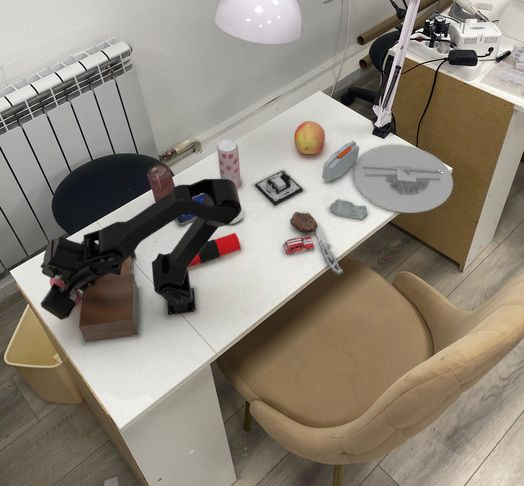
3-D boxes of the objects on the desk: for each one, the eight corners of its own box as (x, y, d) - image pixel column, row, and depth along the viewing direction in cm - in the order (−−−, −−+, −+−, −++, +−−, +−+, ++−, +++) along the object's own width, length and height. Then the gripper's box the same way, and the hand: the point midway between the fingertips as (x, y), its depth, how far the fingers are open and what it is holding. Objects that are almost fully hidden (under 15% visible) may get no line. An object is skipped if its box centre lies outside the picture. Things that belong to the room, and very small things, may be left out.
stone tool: (332, 198, 154) (327, 214, 152) (332, 196, 152) (327, 212, 151) (369, 208, 152) (364, 224, 150) (369, 205, 150) (365, 221, 148)
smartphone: (228, 203, 154) (179, 225, 148) (228, 205, 154) (179, 227, 149) (215, 187, 158) (167, 208, 153) (215, 189, 159) (168, 210, 153)
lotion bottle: (80, 307, 131) (67, 278, 122) (59, 310, 130) (43, 281, 122) (82, 289, 134) (69, 260, 126) (61, 292, 134) (46, 263, 126)
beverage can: (244, 184, 160) (241, 145, 149) (229, 194, 158) (225, 154, 147) (232, 174, 163) (229, 135, 153) (217, 183, 161) (212, 143, 150)
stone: (298, 215, 151) (296, 207, 149) (323, 220, 148) (321, 212, 146) (288, 232, 147) (286, 224, 145) (313, 237, 144) (311, 229, 142)
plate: (448, 149, 168) (449, 146, 167) (456, 217, 148) (457, 214, 148) (355, 142, 172) (355, 139, 171) (351, 208, 152) (351, 205, 151)
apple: (284, 142, 164) (291, 121, 170) (300, 164, 169) (307, 142, 175) (312, 133, 159) (318, 111, 165) (328, 156, 164) (333, 134, 170)
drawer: (95, 256, 142) (90, 245, 138) (136, 251, 143) (132, 239, 139) (91, 298, 133) (86, 286, 129) (135, 292, 134) (131, 280, 130)
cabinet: (90, 296, 134) (83, 280, 130) (138, 289, 135) (133, 273, 131) (86, 342, 125) (78, 327, 121) (138, 335, 126) (132, 319, 122)
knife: (321, 219, 148) (310, 221, 147) (343, 271, 136) (332, 273, 135) (320, 223, 149) (310, 225, 148) (342, 275, 137) (331, 277, 136)
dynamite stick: (241, 253, 142) (166, 280, 137) (235, 242, 145) (161, 268, 140) (239, 239, 139) (162, 265, 134) (233, 228, 142) (157, 253, 138)
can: (159, 219, 151) (148, 180, 142) (157, 204, 156) (145, 165, 146) (181, 213, 152) (171, 174, 142) (178, 198, 156) (167, 160, 147)
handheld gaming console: (351, 157, 167) (353, 136, 161) (359, 161, 165) (361, 141, 160) (320, 182, 160) (322, 161, 154) (328, 187, 158) (330, 166, 152)
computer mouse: (230, 228, 148) (229, 221, 146) (208, 206, 154) (207, 199, 152) (247, 217, 151) (247, 210, 149) (225, 196, 156) (225, 189, 154)
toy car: (314, 249, 143) (316, 242, 140) (285, 256, 141) (285, 249, 139) (310, 238, 145) (311, 231, 142) (281, 245, 143) (281, 238, 141)
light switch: (254, 185, 160) (274, 205, 154) (253, 175, 157) (274, 195, 151) (282, 171, 164) (303, 190, 158) (282, 161, 161) (303, 180, 155)
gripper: (81, 214, 122) (53, 236, 133) (34, 281, 110) (6, 300, 120) (121, 244, 126) (90, 263, 136) (80, 312, 114) (49, 328, 124)
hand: (60, 287), depth 129 cm, fingers closed on lotion bottle, 5 cm apart
